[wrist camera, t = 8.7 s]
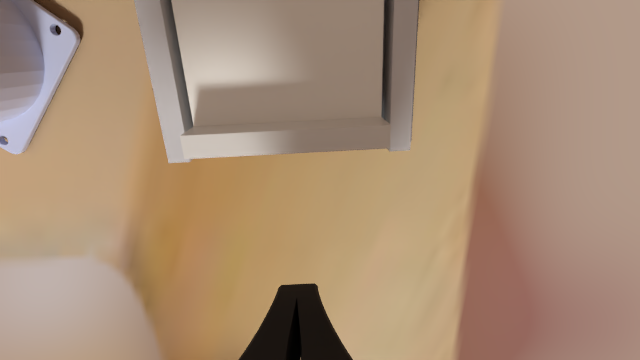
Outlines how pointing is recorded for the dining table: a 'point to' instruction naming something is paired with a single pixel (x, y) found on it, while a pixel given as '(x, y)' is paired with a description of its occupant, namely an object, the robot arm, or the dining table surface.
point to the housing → (173, 90)
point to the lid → (282, 76)
